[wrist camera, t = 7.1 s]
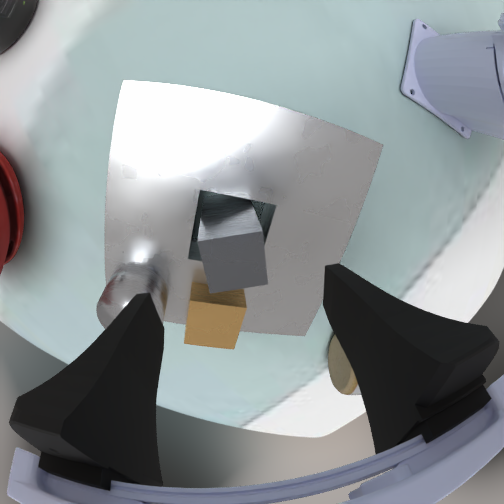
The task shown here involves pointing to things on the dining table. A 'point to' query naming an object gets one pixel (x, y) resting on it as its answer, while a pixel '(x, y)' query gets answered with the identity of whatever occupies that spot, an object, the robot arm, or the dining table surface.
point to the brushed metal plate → (235, 184)
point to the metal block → (231, 244)
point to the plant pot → (9, 212)
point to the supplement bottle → (14, 20)
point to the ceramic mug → (341, 370)
